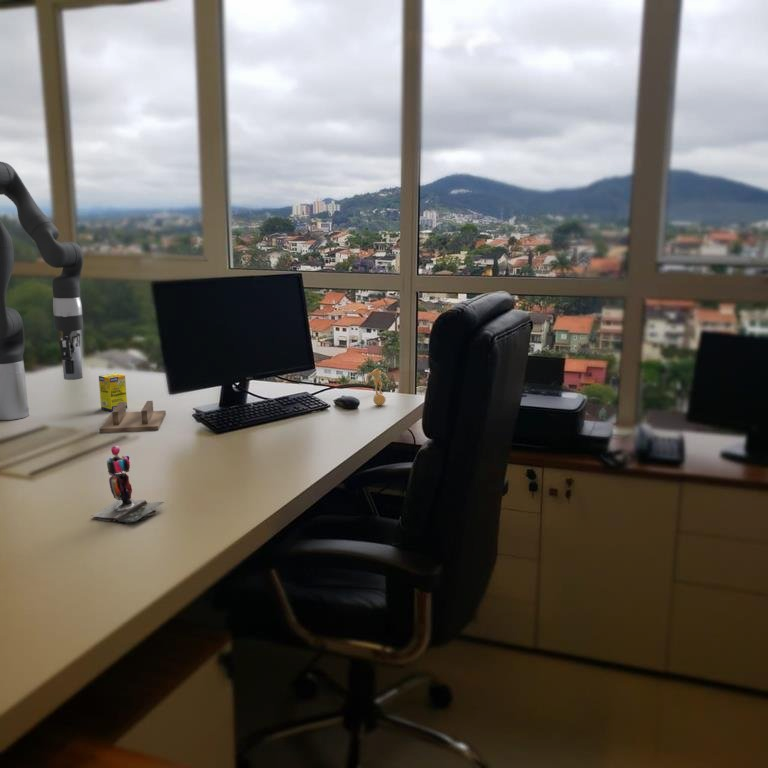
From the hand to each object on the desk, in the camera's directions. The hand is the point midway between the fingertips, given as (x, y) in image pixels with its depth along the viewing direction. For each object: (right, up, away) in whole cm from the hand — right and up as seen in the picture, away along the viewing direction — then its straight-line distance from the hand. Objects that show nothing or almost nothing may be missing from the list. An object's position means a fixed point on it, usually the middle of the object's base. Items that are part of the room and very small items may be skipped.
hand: (72, 371), depth 213 cm
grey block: (0, -2, 0) cm, 2 cm away
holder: (+16, -15, +5) cm, 23 cm away
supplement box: (+4, -12, +22) cm, 25 cm away
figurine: (+88, -11, +27) cm, 93 cm away
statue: (+38, -31, -62) cm, 79 cm away
